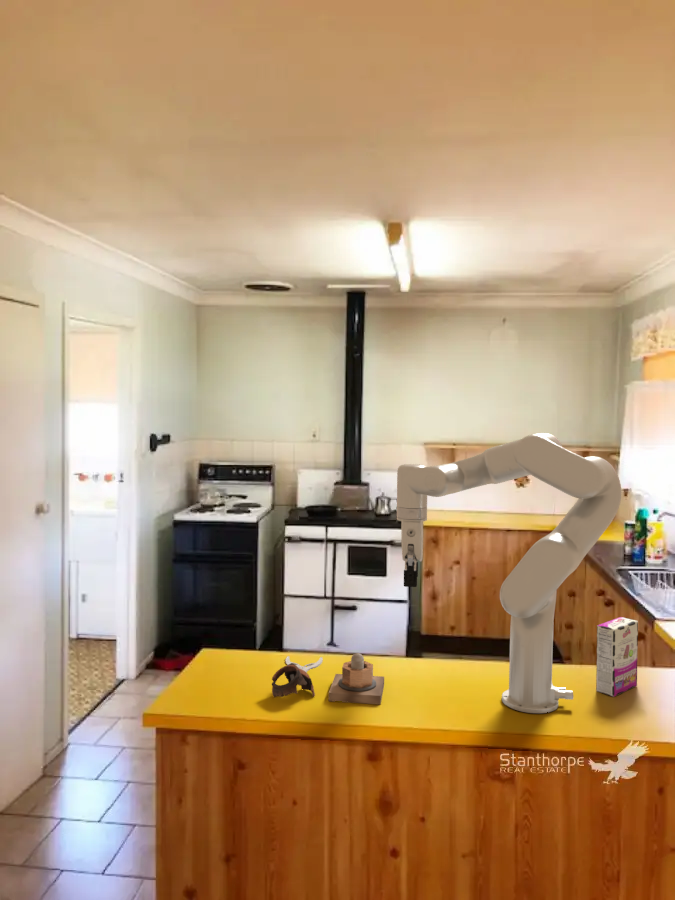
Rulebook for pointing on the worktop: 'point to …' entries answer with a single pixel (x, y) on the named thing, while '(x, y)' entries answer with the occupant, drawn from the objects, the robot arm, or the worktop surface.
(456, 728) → the worktop surface
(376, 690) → the shaft block
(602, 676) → the candy bar box
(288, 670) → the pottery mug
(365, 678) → the ring
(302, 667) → the pliers
